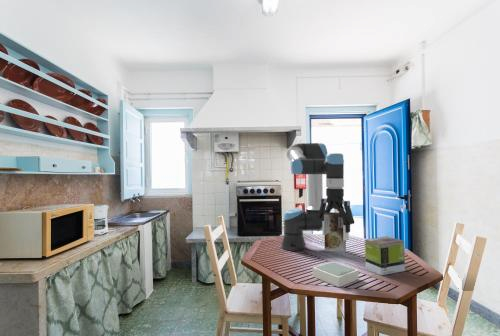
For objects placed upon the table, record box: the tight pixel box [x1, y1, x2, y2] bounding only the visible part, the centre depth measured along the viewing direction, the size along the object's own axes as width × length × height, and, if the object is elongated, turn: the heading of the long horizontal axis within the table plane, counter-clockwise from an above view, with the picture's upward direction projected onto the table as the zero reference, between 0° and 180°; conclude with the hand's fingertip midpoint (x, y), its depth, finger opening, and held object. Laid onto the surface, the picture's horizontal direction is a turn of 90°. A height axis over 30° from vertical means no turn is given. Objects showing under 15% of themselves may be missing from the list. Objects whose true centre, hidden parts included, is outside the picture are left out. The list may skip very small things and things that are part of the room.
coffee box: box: [324, 211, 347, 253], centre depth 123 cm, size 9×6×16 cm
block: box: [312, 261, 360, 288], centre depth 123 cm, size 14×14×4 cm
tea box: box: [364, 236, 406, 276], centre depth 132 cm, size 15×10×15 cm
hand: (335, 237), depth 123 cm, fingers closed on coffee box, 11 cm apart
